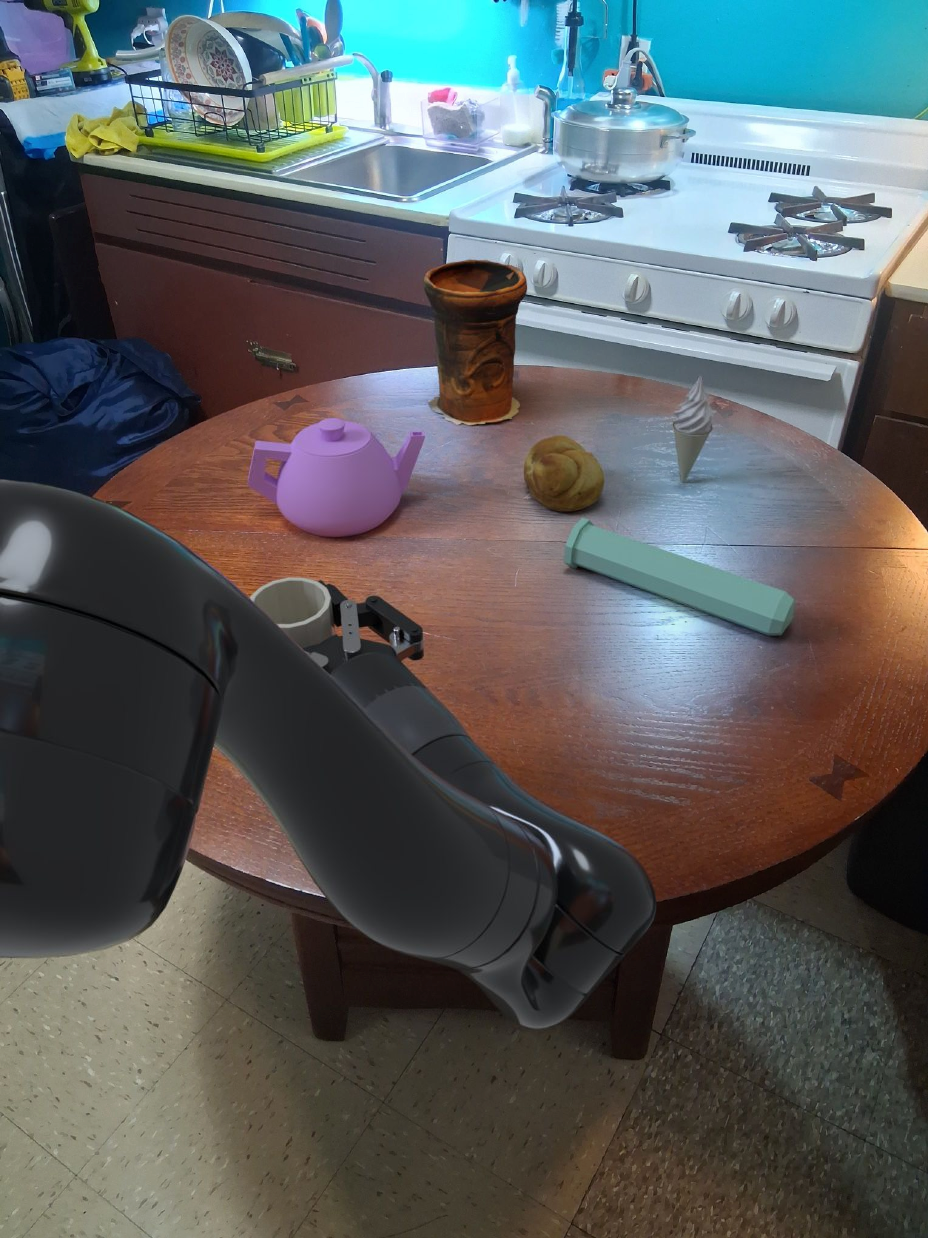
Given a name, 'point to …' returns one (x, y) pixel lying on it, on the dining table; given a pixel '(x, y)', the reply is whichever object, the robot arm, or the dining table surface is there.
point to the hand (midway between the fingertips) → (278, 606)
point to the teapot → (335, 477)
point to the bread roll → (563, 474)
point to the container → (680, 579)
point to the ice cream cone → (692, 427)
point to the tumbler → (298, 609)
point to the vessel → (475, 338)
